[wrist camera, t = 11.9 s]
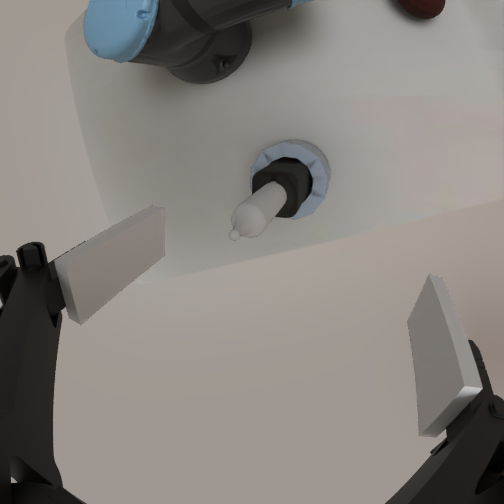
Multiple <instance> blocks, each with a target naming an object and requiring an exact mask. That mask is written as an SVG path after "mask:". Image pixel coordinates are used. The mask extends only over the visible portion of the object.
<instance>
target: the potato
mask: <svg viewBox="0 0 504 504" xmlns="http://www.w3.org/2000/svg"><path fill="white" fill-rule="evenodd" d="M398 1H399V3H400V4H401V5H402V6H403V7H404V8H405V9H406V10H407V11H408V12H410V13H411V14H412V15H414V16H417V17H419V18H426V19H427V18H434V17H435V16H437V15H439V14H440V13H441V12H442V10H443V8H444V5H445V0H398Z"/></svg>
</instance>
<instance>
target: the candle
mask: <svg viewBox="0 0 504 504" xmlns="http://www.w3.org/2000/svg"><path fill="white" fill-rule="evenodd" d="M311 187H312V175H311V173H310V170H309V168H308V166H306V165H305V164H304V163H302V162H301V161H300V160H298V159H297V158H288V157H282V158H280V159H279V160H277V161H275V162H273V163H272V164H270V165H268V166H266V167H264V168H263V169H261V170H259V171H257V172H256V173H255V174H254V175H253V178H252V195H251V196H250V197H249V198H248V199H246V200H245V201H244V202H242V203H241V204H240V205H239V206H237V207H236V208H235V210H234V211H233V214H232V218H231V221H232V225H233V230H231V231H230V232H229V238H230V239H231V240H233V241H237V240H239V238H240V237H241V236H243V237H247V238H254V237H257V236H259V235H260V234H261V233H262V232H263V231H264V230H265V229H266V227H267V226H268V225H269V223H270V222H271V221H272V220H273V218H274V217H283V218H291V217H293V216H295V214H296V213H297V212H298V210H299V208H300V206H301V205H302V203H303V201H304V199H305V198H306V196H307V194H308V193H309V191H310V189H311Z"/></svg>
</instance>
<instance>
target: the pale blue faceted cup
mask: <svg viewBox="0 0 504 504" xmlns="http://www.w3.org/2000/svg"><path fill="white" fill-rule="evenodd" d="M282 157H288V158H297V159H298V160H300V161H301V162H302V163H304V164H305V165H306V166H308V168H309V170H310V173H311V175H312V187H311V189H310V191H309V193H308V194H307V196H306V198H305V199H304V201H303V203H302V205H301V206H300V208H299V210H298V212H297V213H296V214H295V216H293V217H291V218H288V219H293V220H294V219H297V218H300V217H303V216H306V215H308V214H311V213H313V212H314V211H315V209H316V208H317V207H318V206H319V204H320V203H321V202H322V201H323V200H324V198H325V196H326V193H327V190H328V185H329V179H330V167H329V163H328V160H327V158H326V156H325V155H324V154H323V152H322V151H321V150H320V149H319V148H318V147H317V146H315V145H313V144H312V143H309V142H307V141H303V140H287V141H284V142H281V143H279V144H277V145H274V146H272V147H270V148H268V149H266V150H263V151H262V152H261V154H260V155H259V157H258V158H257V159H256V161H255V162H254V164H253V165H252V167H251V182H250V187H251V189H252V178H253V175H254V174H255V173H256V172H257V171H259V170H261V169H263V168H264V167H266V166H268V165H270V164H272V163H273V162H275V161H277V160H279V159H280V158H282ZM282 218H283V217H282Z"/></svg>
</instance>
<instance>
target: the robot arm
mask: <svg viewBox="0 0 504 504" xmlns="http://www.w3.org/2000/svg"><path fill="white" fill-rule="evenodd" d="M309 1H313V0H90V1H89V5H88V8H87V10H86V13H85V18H84V36H85V40H86V43H87V45H88V47H89V49H90V50H91V51H92V52H93V53H94V54H95V55H97V56H98V57H101V58H104V59H110V60H114V61H116V62H119V63H123V62H124V63H125V62H133V63H141V64H149V65H156V66H163V67H165V68H167V69H168V70H169V71H170V72H171V73H172V74H173V75H174V76H176V77H178V78H180V79H182V80H184V81H188V82H194V83H211V82H215V81H218V80H221V79H223V78H225V77H227V76H228V75H230V74H231V73H233V72H234V71H235V70H236V69H237V68H238V67H239V66H240V65H241V64H242V62H243V61H244V59H245V58H246V56H247V54H248V52H249V49H250V46H251V40H252V33H251V27H250V24H249V22H248V20H249V19H252V18H255V17H258V16H261V15H264V14H267V13H271V12H274V11H277V10H281V9H284V8H287V9H291V8H294V7H295V6H296V5H299V4H302V3H305V2H309ZM164 214H165V208H162V207H158V206H153V205H152V206H150V207H148V208H146V209H144V210H142V211H140V212H139V213H137V214H135V215H133V216H131V217H129V218H127V219H125V220H123V221H121V222H120V223H118V224H116V225H114V226H112V227H110V228H109V229H107V230H105V231H103V232H102V233H100V234H98V235H96V236H94V237H93V238H91V239H89V240H87V241H84V242H83V243H81V244H79V245H78V246H77V247H74V248H72V249H71V250H70V251H67V252H66V253H64V254H62V255H61V256H59V257H57V258H56V259H54V260H53V261H51V262H49V263H48V261H47V257H46V252H45V247H44V245H43V244H42V243H40V242H31V243H27V244H25V245H23V246H21V247H20V248H18V249H17V251H16V252H17V256H18V260H19V264H20V267H16V264H15V260H14V258H13V257H12V256H10V255H6V256H5V255H3V256H0V299H1V302H2V304H3V305H2V307H1V308H0V504H86V503H85V502H83V501H81V500H80V499H78V498H77V497H76V496H74V495H73V494H71V493H70V492H68V491H67V490H66V489H64V488H63V484H62V479H61V475H60V472H59V470H58V468H57V466H56V464H55V460H54V454H53V399H54V383H55V370H56V360H57V352H58V344H59V336H60V330H61V323H62V313H61V310H62V309H63V308H65V307H66V309H67V312H68V316H69V318H70V319H72V320H74V321H75V322H77V323H79V324H80V325H82V324H83V323H84V322H85V321H86V320H87V319H88V318H90V317H91V316H92V315H93V314H94V313H95V312H96V311H98V310H99V309H100V308H101V307H102V306H104V305H105V304H106V303H107V302H108V301H110V300H111V299H112V298H113V297H114V296H116V295H117V294H118V293H119V292H120V291H122V290H123V289H124V288H125V287H126V286H127V285H129V284H130V283H131V282H132V281H134V280H135V279H136V278H137V277H139V276H140V275H141V274H142V273H144V272H145V271H146V270H147V269H149V268H150V267H151V266H152V265H154V264H155V263H156V262H157V261H159V260H160V259H161V258H162V257H164V256H165V226H164ZM407 323H408V329H409V336H410V342H411V348H412V356H413V364H414V372H415V382H416V393H417V407H418V424H419V425H418V427H419V436H424V437H437V436H438V435H439V434H440V433H441V432H443V431H444V430H445V429H446V433H447V438H445V439H444V440H443V441H442V442H441V443H440V444H439V445H438V446H436V447H435V448H434V449H433V450H432V451H431V452H430V453H431V454H432V455H431V456H430V457H429V458H428V459H427V460H426V462H425V463H424V464H423V465H422V466H421V467H420V468H419V470H418V471H417V472H416V473H415V474H414V475H413V476H412V477H411V478H410V480H409V481H408V482H407V483H406V484H405V485H404V486H403V487H402V488H401V489H400V490H399V491H398V492H397V493H396V494H395V495H394V496H393V497H392V498H391V499H390V500H388V501H387V502H386V503H385V504H504V400H503V399H502V398H500V397H499V396H497V395H494V394H493V391H492V388H491V384H490V381H489V377H488V374H487V371H486V369H485V365H484V362H483V361H482V360H483V359H482V356H481V353H480V351H479V349H478V347H477V346H476V345H475V344H474V342H473V341H472V340H468V339H467V336H466V333H465V331H464V328H463V325H462V323H461V320H460V318H459V315H458V313H457V310H456V308H455V305H454V303H453V300H452V298H451V296H450V294H449V291H448V289H447V287H446V284H445V282H444V280H443V278H441V277H438V276H434V275H431V274H429V275H428V277H427V280H426V282H425V284H424V287H423V289H422V291H421V293H420V295H419V298H418V300H417V302H416V304H415V306H414V308H413V310H412V312H411V314H410V317H409V319H408V321H407ZM11 477H12V478H14V479H15V480H16V481H17V483H11Z"/></svg>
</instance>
